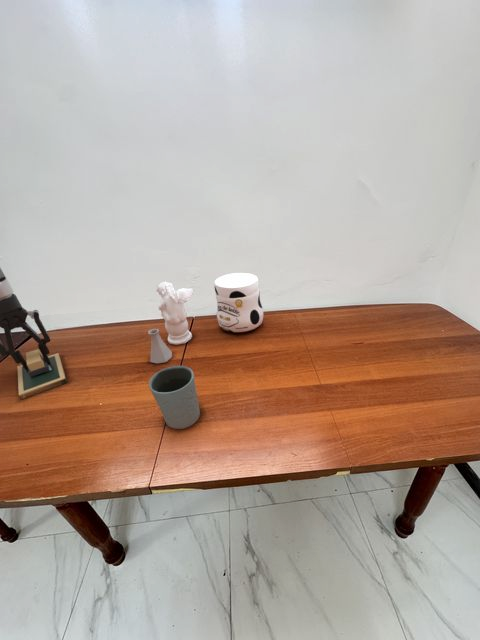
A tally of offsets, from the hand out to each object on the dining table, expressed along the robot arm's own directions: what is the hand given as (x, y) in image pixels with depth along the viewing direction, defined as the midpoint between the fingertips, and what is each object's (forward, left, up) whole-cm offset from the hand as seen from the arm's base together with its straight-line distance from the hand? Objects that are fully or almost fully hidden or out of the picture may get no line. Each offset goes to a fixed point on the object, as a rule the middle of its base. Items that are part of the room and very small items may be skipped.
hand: (38, 366), depth 92 cm
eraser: (0, 0, 0) cm, 0 cm away
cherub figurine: (+32, +33, -3) cm, 46 cm away
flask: (+32, +20, -3) cm, 37 cm away
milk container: (+47, +48, -3) cm, 67 cm away
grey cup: (+55, +1, -3) cm, 55 cm away
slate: (+2, -1, -2) cm, 4 cm away
